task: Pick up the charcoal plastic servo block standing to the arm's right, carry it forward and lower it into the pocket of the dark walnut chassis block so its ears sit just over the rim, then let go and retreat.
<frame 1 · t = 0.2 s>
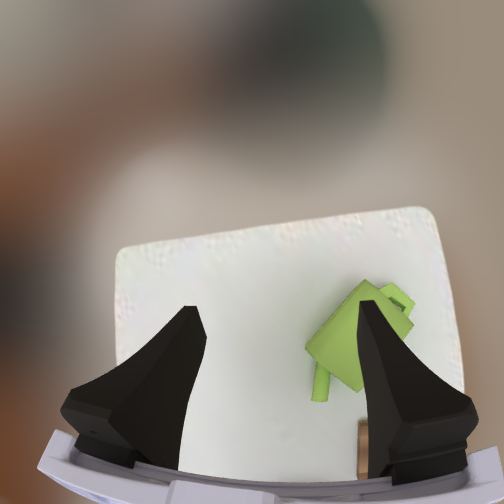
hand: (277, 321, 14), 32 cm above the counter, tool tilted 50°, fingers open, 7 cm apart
gearbox: (352, 345, 42), on the counter
pocket block: (393, 444, 36), on the counter
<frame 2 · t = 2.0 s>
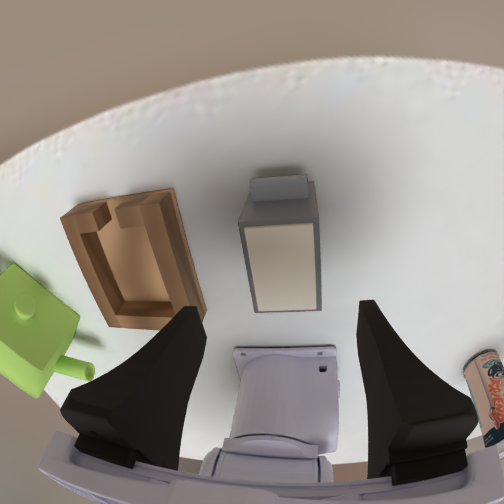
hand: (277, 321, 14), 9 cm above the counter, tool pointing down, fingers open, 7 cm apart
servo: (287, 224, 22), on the counter
gearbox: (48, 306, 31), on the counter
pocket block: (140, 258, 25), on the counter
beer can: (479, 361, 27), on the counter
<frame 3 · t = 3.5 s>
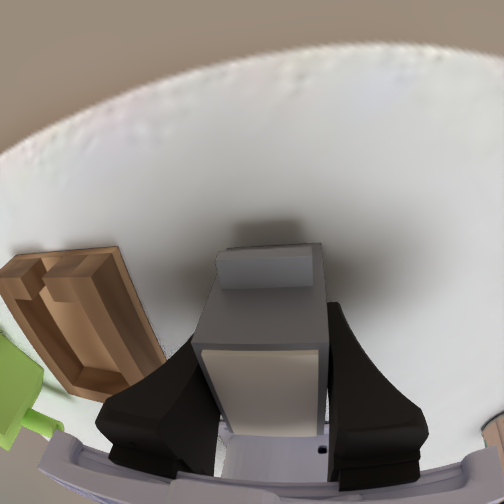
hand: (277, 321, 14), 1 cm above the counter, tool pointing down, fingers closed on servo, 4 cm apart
servo: (280, 300, 15), on the counter, touching gripper
gearbox: (12, 353, 24), on the counter
pocket block: (93, 324, 18), on the counter
beer can: (500, 418, 20), on the counter
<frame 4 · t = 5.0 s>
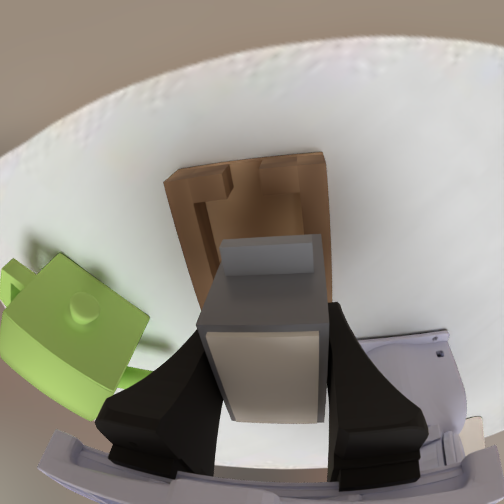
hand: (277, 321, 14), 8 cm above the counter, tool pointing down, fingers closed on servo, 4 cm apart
servo: (281, 291, 15), point 6 cm above the counter, touching gripper
gearbox: (103, 306, 28), on the counter
pocket block: (260, 238, 21), on the counter
cosmetic bottle: (464, 425, 33), on the counter
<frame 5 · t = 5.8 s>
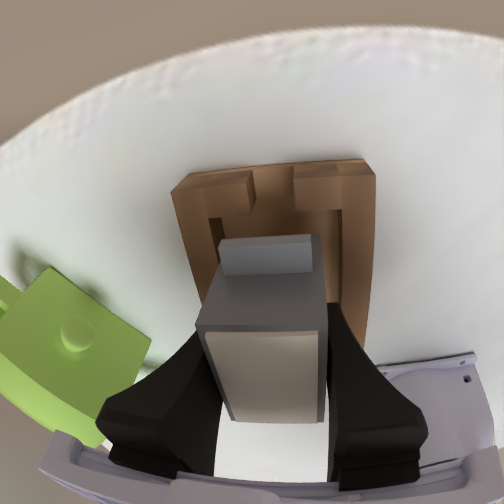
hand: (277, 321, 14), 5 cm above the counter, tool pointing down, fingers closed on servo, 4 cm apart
servo: (280, 291, 15), point 3 cm above the counter, touching gripper
gearbox: (99, 326, 24), on the counter
pocket block: (284, 259, 18), on the counter
when the fingers open (3 cm above the counter, at t = 6.6 s): servo stays where it is, resting on pocket block.
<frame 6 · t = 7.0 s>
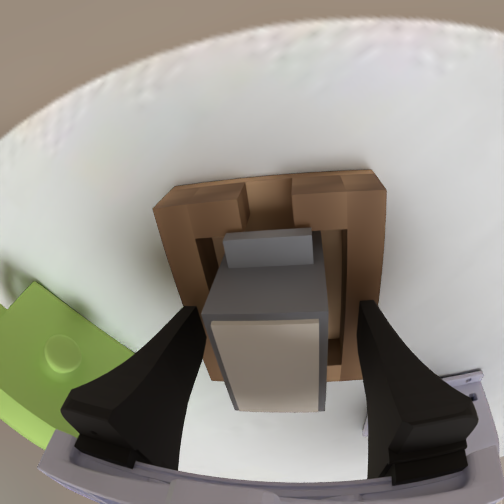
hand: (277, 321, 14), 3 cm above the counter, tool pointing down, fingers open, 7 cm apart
servo: (282, 284, 16), point 1 cm above the counter, touching pocket block
gearbox: (88, 341, 23), on the counter
pocket block: (282, 278, 16), on the counter
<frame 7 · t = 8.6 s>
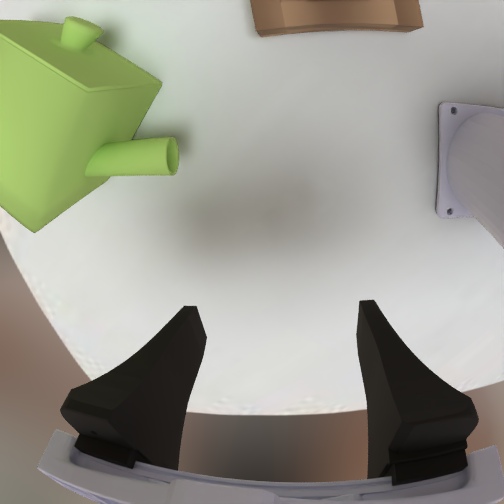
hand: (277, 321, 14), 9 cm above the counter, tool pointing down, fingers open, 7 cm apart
gearbox: (99, 91, 18), on the counter
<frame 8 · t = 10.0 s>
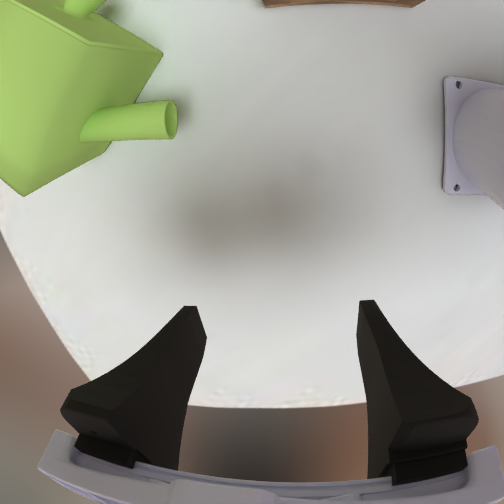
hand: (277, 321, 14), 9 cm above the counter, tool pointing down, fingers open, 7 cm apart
gearbox: (98, 64, 17), on the counter
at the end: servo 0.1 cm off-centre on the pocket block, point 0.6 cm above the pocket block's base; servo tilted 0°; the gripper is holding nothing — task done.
